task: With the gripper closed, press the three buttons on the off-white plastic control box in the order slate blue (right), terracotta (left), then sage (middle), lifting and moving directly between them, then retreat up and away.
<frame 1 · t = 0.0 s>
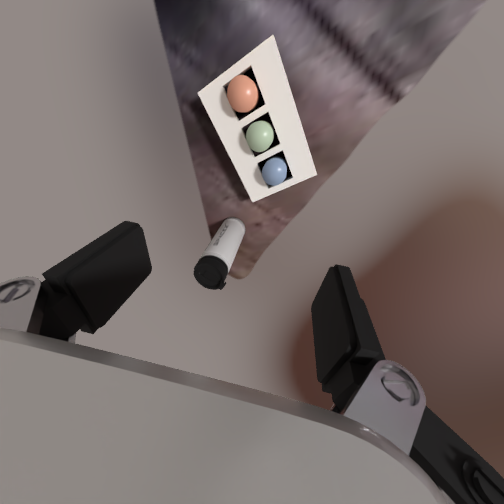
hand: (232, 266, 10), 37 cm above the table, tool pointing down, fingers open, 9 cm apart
slate button: (274, 170, 38), point 4 cm above the table, slide at 0.0 cm
terracotta button: (243, 95, 32), point 4 cm above the table, slide at 0.0 cm
travel mug: (234, 227, 52), on the table
button box: (263, 134, 39), on the table
sage button: (260, 136, 35), point 4 cm above the table, slide at 0.0 cm
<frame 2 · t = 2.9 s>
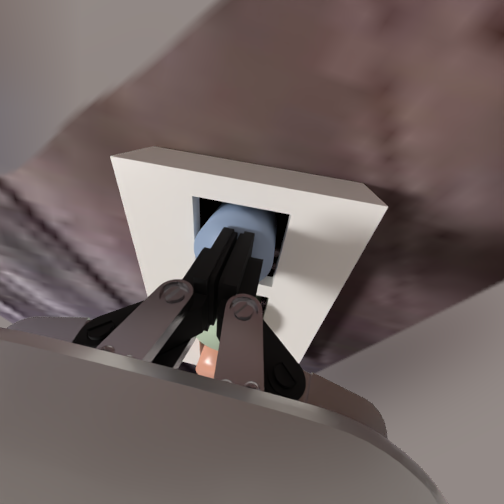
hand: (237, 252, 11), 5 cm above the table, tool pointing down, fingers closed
slate button: (240, 238, 13), point 3 cm above the table, slide at 1.0 cm, touching gripper
terracotta button: (225, 353, 20), point 4 cm above the table, slide at 0.0 cm
button box: (240, 279, 19), on the table
sage button: (229, 313, 16), point 4 cm above the table, slide at 0.0 cm
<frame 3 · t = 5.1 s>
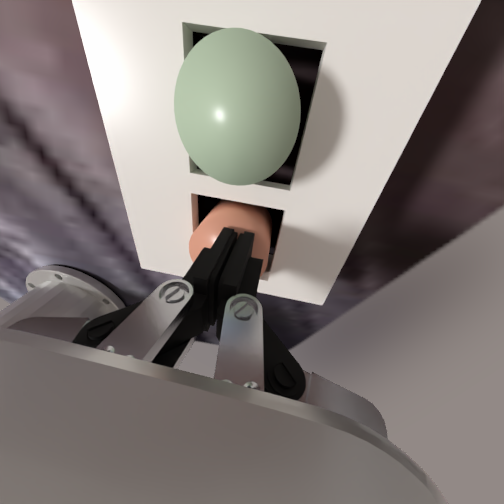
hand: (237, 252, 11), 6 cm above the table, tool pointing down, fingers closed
terracotta button: (235, 238, 13), point 4 cm above the table, slide at 0.4 cm, touching gripper
button box: (256, 119, 12), on the table
sage button: (245, 120, 9), point 4 cm above the table, slide at 0.0 cm
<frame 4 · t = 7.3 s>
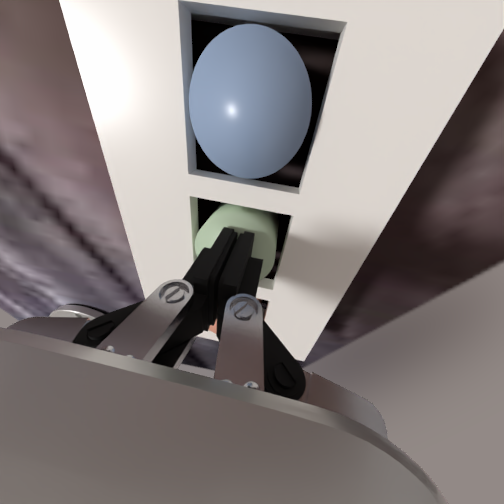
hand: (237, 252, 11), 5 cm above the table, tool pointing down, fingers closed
slate button: (255, 115, 9), point 2 cm above the table, slide at 1.5 cm
terracotta button: (234, 301, 17), point 2 cm above the table, slide at 1.5 cm
button box: (248, 219, 15), on the table
sage button: (241, 236, 13), point 3 cm above the table, slide at 1.4 cm, touching gripper
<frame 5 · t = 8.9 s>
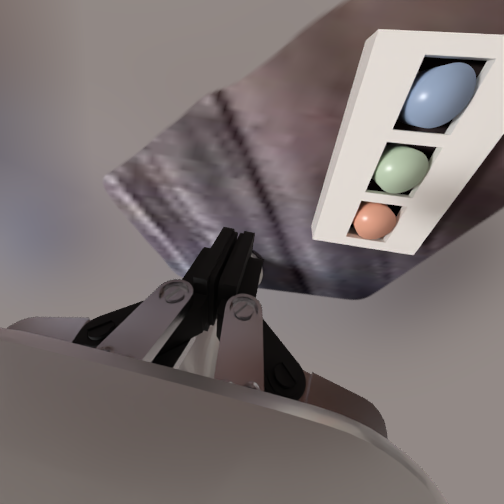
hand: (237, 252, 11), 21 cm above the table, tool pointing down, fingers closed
slate button: (429, 98, 19), point 2 cm above the table, slide at 1.5 cm
terracotta button: (370, 217, 27), point 2 cm above the table, slide at 1.5 cm
button box: (387, 163, 25), on the table
sage button: (395, 168, 23), point 2 cm above the table, slide at 1.5 cm
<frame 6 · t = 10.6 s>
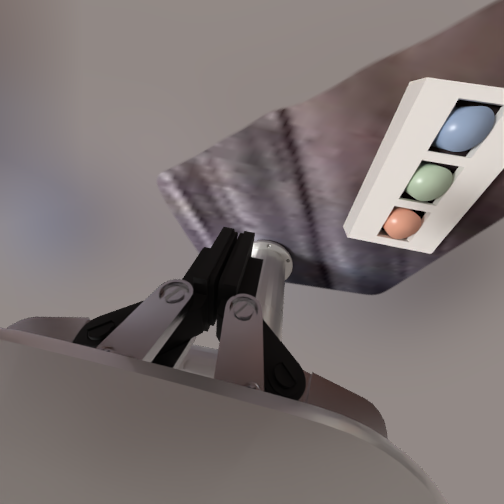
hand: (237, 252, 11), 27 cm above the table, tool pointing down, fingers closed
slate button: (456, 129, 25), point 2 cm above the table, slide at 1.5 cm
terracotta button: (398, 220, 32), point 2 cm above the table, slide at 1.5 cm
button box: (415, 176, 31), on the table
sage button: (423, 181, 29), point 2 cm above the table, slide at 1.5 cm
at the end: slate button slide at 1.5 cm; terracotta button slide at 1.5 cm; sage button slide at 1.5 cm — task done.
